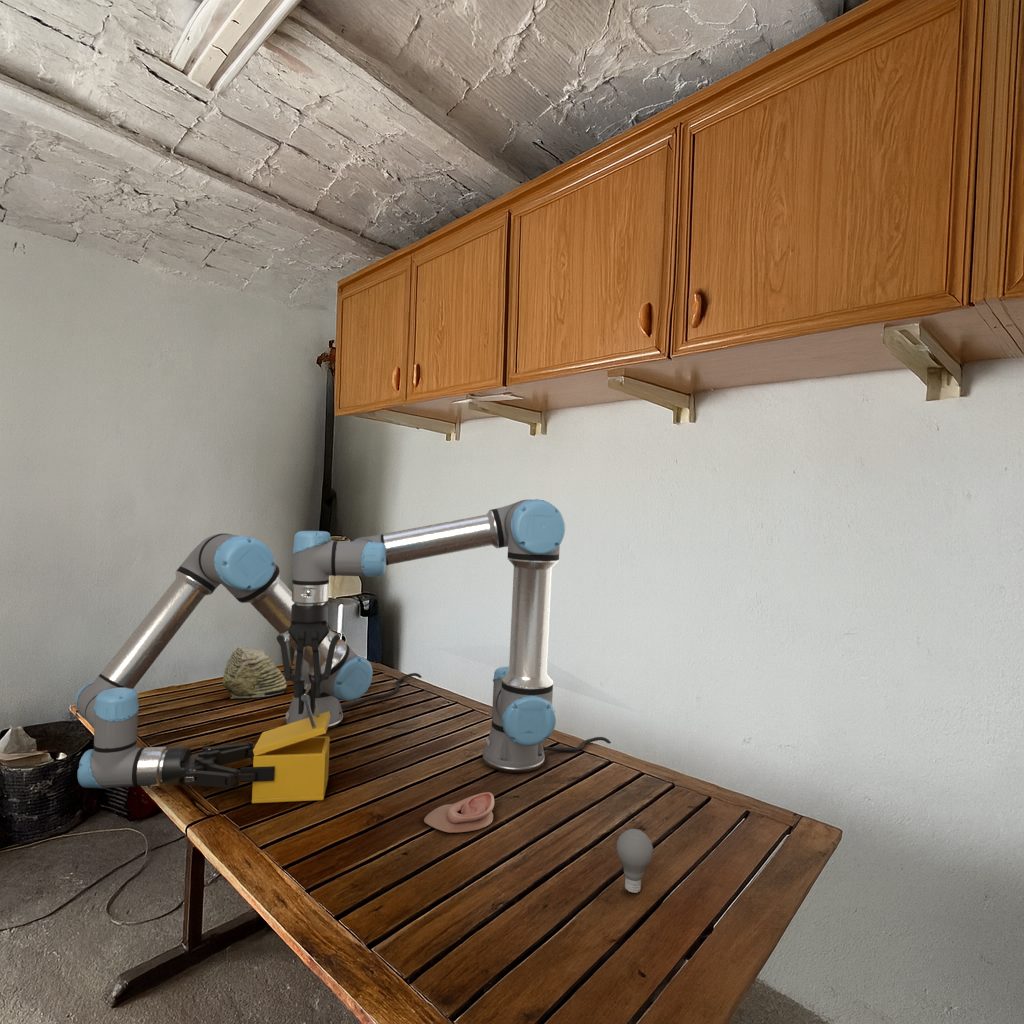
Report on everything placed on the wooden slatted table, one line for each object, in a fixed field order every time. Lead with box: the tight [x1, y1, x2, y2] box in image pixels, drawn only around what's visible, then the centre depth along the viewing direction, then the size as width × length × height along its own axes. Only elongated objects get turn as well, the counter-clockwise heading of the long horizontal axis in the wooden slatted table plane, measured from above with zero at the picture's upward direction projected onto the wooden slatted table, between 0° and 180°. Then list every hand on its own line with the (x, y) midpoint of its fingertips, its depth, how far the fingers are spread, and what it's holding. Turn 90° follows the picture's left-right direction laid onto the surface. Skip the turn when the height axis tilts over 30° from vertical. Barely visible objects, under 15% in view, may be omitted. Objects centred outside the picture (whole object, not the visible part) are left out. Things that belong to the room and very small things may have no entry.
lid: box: [253, 683, 331, 756], centre depth 135 cm, size 15×10×9 cm
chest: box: [251, 735, 331, 804], centre depth 136 cm, size 14×10×10 cm
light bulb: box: [615, 828, 654, 894], centre depth 106 cm, size 6×6×10 cm
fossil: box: [222, 646, 288, 699], centre depth 198 cm, size 9×18×15 cm, turn 132°
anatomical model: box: [423, 791, 495, 834], centre depth 127 cm, size 13×4×12 cm
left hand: (278, 762), depth 135 cm, fingers closed on chest, 10 cm apart
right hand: (306, 711), depth 136 cm, fingers closed on lid, 2 cm apart
